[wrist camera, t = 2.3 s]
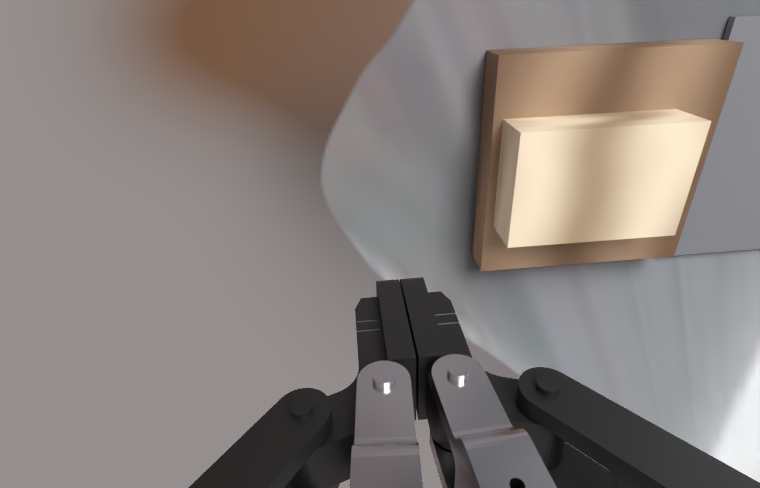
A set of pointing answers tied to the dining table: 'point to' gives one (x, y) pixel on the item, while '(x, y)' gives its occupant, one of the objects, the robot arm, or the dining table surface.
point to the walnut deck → (593, 96)
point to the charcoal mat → (731, 160)
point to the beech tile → (595, 176)
